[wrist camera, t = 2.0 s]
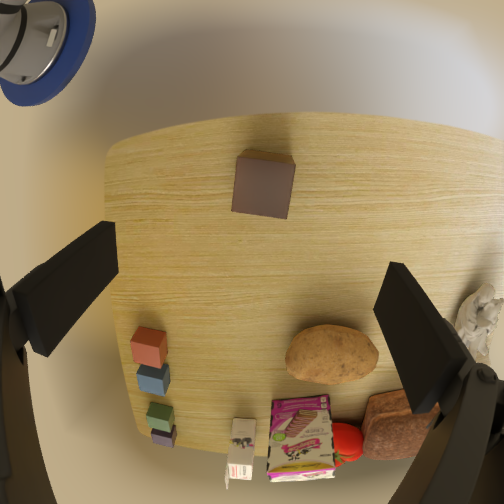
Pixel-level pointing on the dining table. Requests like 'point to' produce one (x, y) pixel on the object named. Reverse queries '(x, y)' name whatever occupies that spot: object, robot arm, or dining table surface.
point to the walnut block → (263, 183)
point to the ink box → (241, 450)
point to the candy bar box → (301, 440)
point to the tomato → (346, 443)
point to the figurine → (478, 319)
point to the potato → (331, 355)
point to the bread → (393, 427)
